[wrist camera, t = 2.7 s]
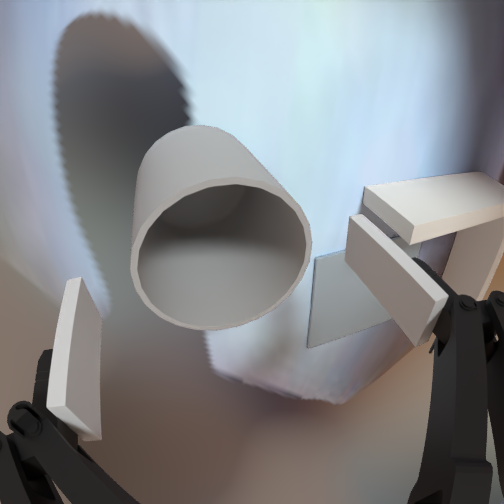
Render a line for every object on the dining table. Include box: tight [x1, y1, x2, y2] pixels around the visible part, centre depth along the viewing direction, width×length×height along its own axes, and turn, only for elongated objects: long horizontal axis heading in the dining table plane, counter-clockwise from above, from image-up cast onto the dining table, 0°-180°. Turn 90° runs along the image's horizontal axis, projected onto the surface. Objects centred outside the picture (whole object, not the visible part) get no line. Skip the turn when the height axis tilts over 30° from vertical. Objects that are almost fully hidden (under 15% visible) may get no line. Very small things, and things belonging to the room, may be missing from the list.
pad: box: [307, 236, 422, 349], centre depth 30 cm, size 12×12×1 cm
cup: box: [130, 125, 312, 330], centre depth 17 cm, size 7×10×9 cm
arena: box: [363, 171, 504, 301], centre depth 27 cm, size 17×16×6 cm
